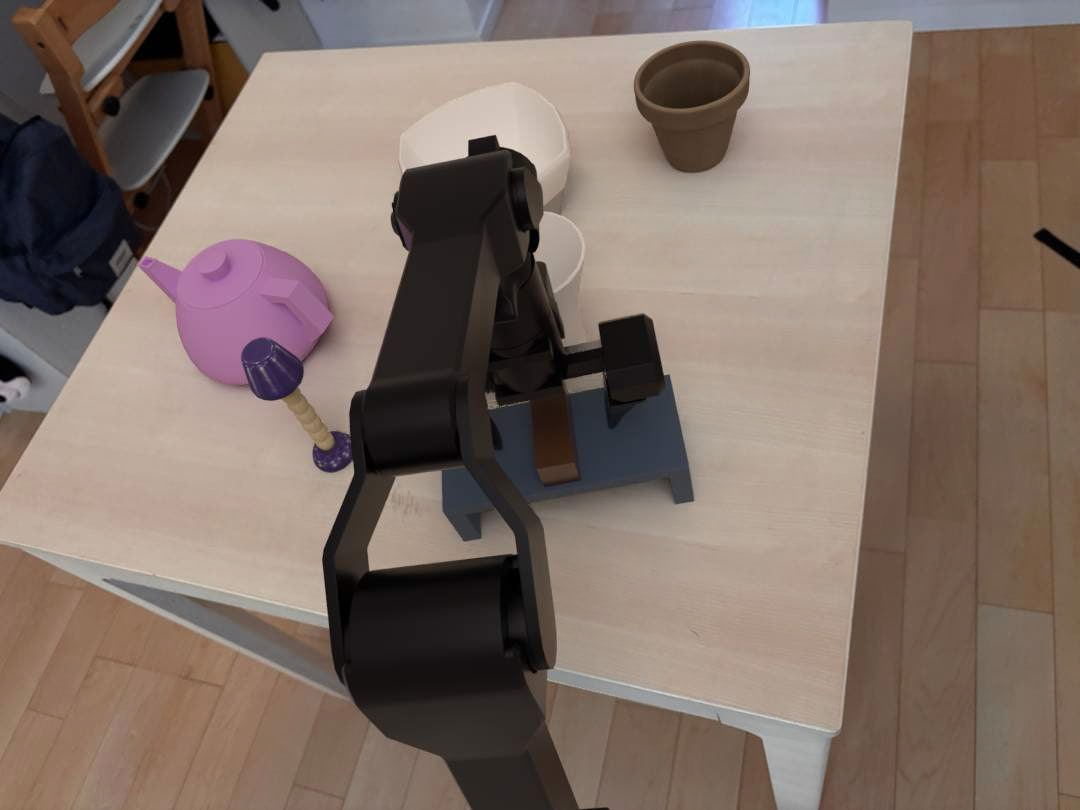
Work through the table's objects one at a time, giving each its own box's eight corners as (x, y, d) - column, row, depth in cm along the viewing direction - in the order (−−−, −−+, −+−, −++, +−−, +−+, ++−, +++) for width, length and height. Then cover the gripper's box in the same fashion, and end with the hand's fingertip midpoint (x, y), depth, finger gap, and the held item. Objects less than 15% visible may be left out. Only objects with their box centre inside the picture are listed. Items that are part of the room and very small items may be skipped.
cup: (559, 414, 80) (526, 324, 69) (482, 362, 85) (439, 270, 74) (632, 337, 83) (611, 239, 72) (552, 292, 88) (521, 194, 77)
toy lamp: (353, 424, 84) (274, 318, 71) (368, 459, 82) (289, 356, 68) (309, 447, 84) (220, 345, 70) (323, 483, 81) (233, 385, 68)
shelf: (694, 501, 72) (689, 466, 67) (463, 541, 75) (442, 511, 70) (675, 411, 77) (669, 373, 72) (460, 452, 80) (440, 418, 75)
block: (581, 480, 69) (574, 462, 66) (544, 487, 69) (536, 469, 66) (570, 398, 73) (563, 378, 71) (535, 405, 73) (527, 385, 71)
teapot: (385, 295, 93) (339, 215, 83) (314, 415, 86) (255, 343, 76) (227, 265, 101) (169, 189, 91) (151, 372, 94) (79, 302, 84)
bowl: (459, 295, 90) (430, 232, 83) (406, 197, 101) (376, 133, 93) (609, 221, 92) (595, 152, 84) (542, 131, 102) (523, 63, 94)
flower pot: (709, 102, 98) (703, 22, 90) (773, 151, 92) (774, 71, 84) (624, 151, 97) (611, 75, 89) (683, 205, 90) (675, 128, 82)
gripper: (629, 200, 61) (653, 334, 73) (377, 256, 63) (442, 377, 76) (654, 322, 54) (676, 445, 67) (373, 379, 57) (445, 488, 70)
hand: (555, 434), depth 70 cm, fingers open, 9 cm apart
